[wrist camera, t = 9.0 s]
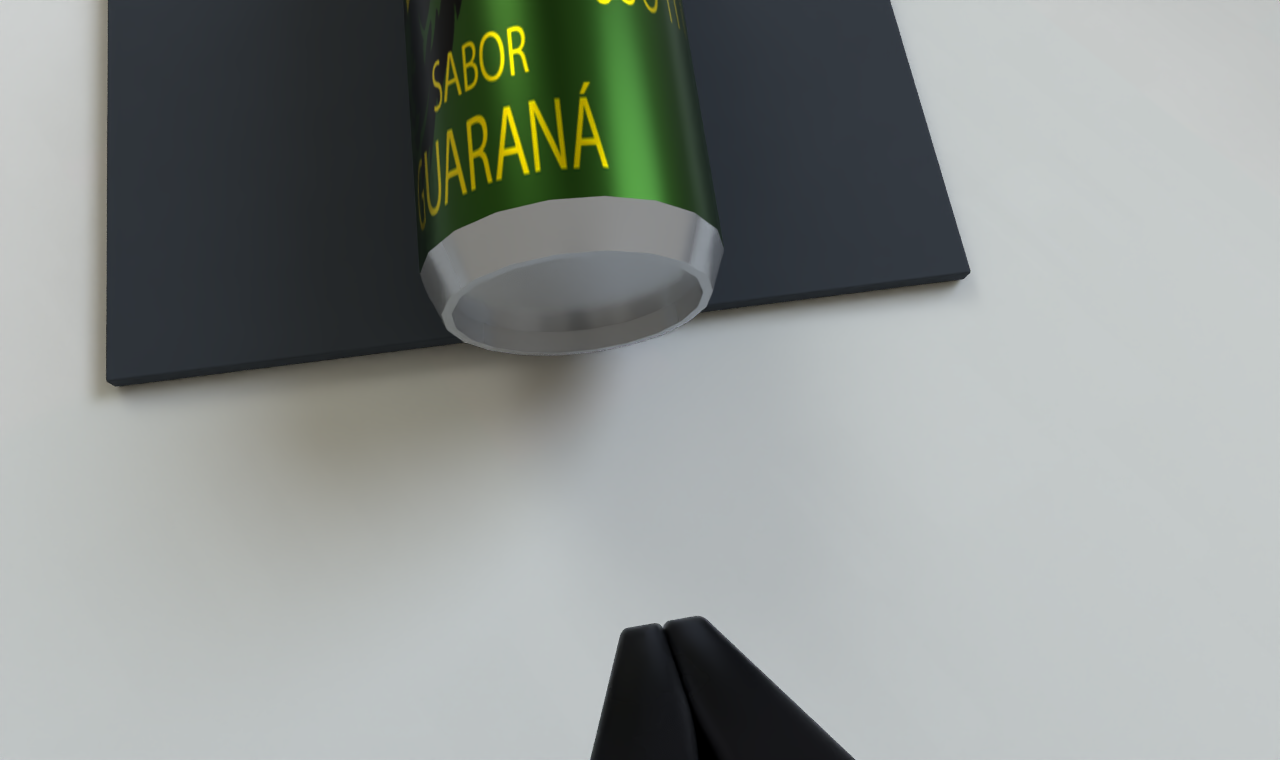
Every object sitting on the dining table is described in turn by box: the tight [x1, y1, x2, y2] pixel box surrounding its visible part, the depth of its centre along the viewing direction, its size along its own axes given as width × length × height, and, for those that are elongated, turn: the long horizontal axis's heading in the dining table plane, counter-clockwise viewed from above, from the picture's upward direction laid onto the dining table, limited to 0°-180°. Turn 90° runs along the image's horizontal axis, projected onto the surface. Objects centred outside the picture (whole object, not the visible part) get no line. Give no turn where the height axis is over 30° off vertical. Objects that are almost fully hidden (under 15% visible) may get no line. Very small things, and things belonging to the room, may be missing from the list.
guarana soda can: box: [403, 0, 724, 356], centre depth 17 cm, size 5×5×12 cm
